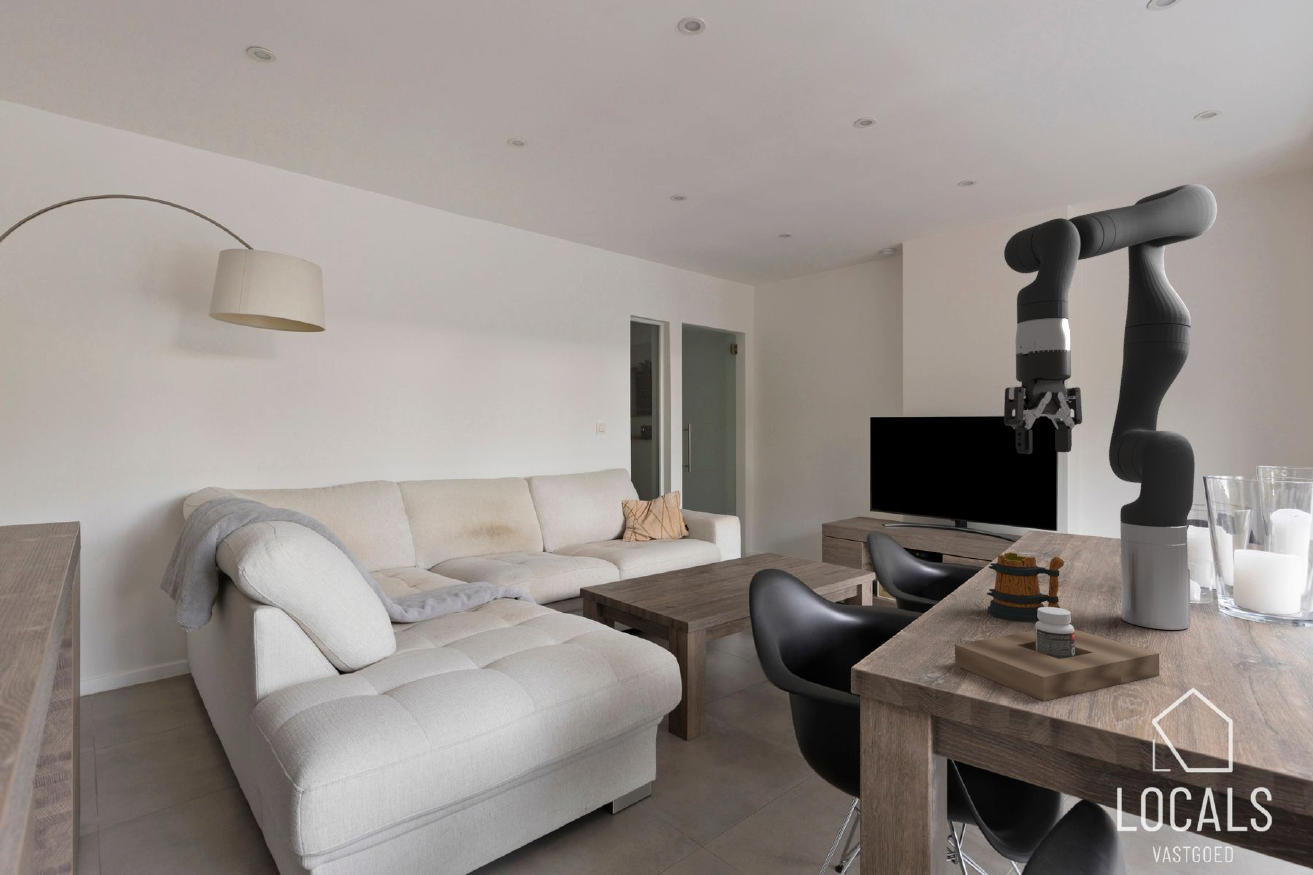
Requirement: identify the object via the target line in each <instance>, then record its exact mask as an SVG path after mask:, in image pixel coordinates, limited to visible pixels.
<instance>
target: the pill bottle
mask: <svg viewBox="0 0 1313 875" xmlns="http://www.w3.org/2000/svg"><path fill="white" fill-rule="evenodd" d="M1071 615H1072V614H1071V611H1070V610H1067V609H1065V608H1061V607H1060V608H1055V607H1048V606H1045V607H1040V608H1038V613H1037V617H1038V619H1039V620H1040V621H1038V622H1035V626H1034V631H1035V638H1036V652H1039V653H1042V654H1045V655H1048V656H1051V657H1054V658H1057V659H1063V658H1068V657H1074V656H1075V632H1074V629H1075V628H1074V626H1073V625H1072V624H1070V623H1071V622H1072V616H1071Z"/></svg>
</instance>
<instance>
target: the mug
mask: <svg viewBox="0 0 1313 875" xmlns="http://www.w3.org/2000/svg"><path fill="white" fill-rule="evenodd" d="M1064 565H1065V561H1064V560H1063V559H1062V558H1060V557H1059V556H1054V557H1052V559H1051V560H1050V563H1049V568H1046V567H1042V566H1038V565H1037V561H1036V556H1031V557H1030V556H1029V557H1028V556H1022V555H1018V553H1016V552H1011V551H1010V552H1005V553H1004V555H1003V554H999V555H997V562H996V563H995V562H994V563H992V562H991V563H990V565H988V569H991V570H994V572H995V581H994V582H995V583H994V588H989V589H988V591H989V592H986V595H987V596H990V597H992V598H993V599H991V600H990V602H989V604H990V605H988V606H987V613H988V615H990V616H992V617H995V618H999V619H1002V620H1006V621H1012V622H1021V623H1036V622H1038V621H1040V620H1039V619H1038V617H1037V613H1038V608H1040V607H1046V606H1045V604H1043V603H1044V602H1045V603H1046V602H1047V604H1048V605H1047V607H1055V608H1061V606H1060V605H1059V602H1060V601H1059V596H1058V592H1059V577H1060V570H1059V569H1061V568H1063V567H1064ZM1041 574H1045V575H1047V576H1049V581H1048V582H1049V586H1048V594H1043V593H1041V589H1040V581H1039V575H1041Z"/></svg>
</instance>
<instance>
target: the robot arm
mask: <svg viewBox="0 0 1313 875" xmlns="http://www.w3.org/2000/svg"><path fill="white" fill-rule="evenodd" d="M1217 213H1218V205H1217V200H1216V197H1215V195H1214V194H1213V192H1212V191H1211V190H1210V189H1209V188H1207V187H1206V186H1204V185H1202V184H1197V183H1190V184H1183V185H1178V186H1175V187H1173V188H1170V189H1166V190H1164V191H1161V192H1156V193H1153V194H1150V195H1148V196H1145V197H1142V198H1141V199H1139V200H1137V201H1136V202H1135V204H1133V205H1128V206H1122V207H1117V208H1111V209H1105V210H1101V211H1095V212H1090V213H1087V214H1086V213H1085V214H1081V215H1077V216H1074V217H1071V218H1068V219H1067V218H1053V219H1050V220H1048V221H1045V222H1041V223H1039V224H1036V225H1034V226H1033V225H1032V226H1031V227H1028V228H1025V229H1024V228H1023V230H1020V231H1018V232H1016V233H1015V234H1013V235H1012V236H1011V237H1010V238H1009V239H1008V241H1007V243H1006V245H1005V246H1004V250H1003V254H1004V255H1003V257H1004V261H1005V262H1006V265H1007V266H1008V267H1009V268H1010V269H1011V270H1012V271H1015V272H1017V273H1019V274H1032V273H1036V272H1037V274H1036V277H1035V279H1034V280H1033V281H1032V282H1031V283H1029V284H1027V285H1026V286H1024V287H1022V288H1021V289H1020V290H1019V291H1018V293H1017V297H1016V334H1015V380H1016V381H1017V382H1019V383H1021V386H1011V387H1006V388H1005V390H1004V407H1003V409H1004V411H1003V412H1004V414H1003V415H1004V416H1003V423H1004V425H1005V426H1010V427H1012V428H1013V430H1015V450H1016V452H1017V454H1022V455H1023V454H1024V455H1030V454H1032V453H1033V429H1031V428H1032V426H1034V425H1033V424H1034V422H1035V421H1036V419H1038V418H1040V417H1041V415H1042V416H1043V415H1045V416H1046V417H1047V418H1048V419H1050V420H1051V421H1052V423H1053V425H1054V427H1055V428H1056V429H1054V445H1055V446H1054V448H1055V452H1056V453H1071V451H1072V447H1073V446H1072V445H1073V442H1072V440H1073V439H1072V437H1073V436H1072V434H1073V433H1072V429H1074V427H1075V426H1077V425H1081V424H1083V411H1082V408H1083V407H1082V393H1081V388H1080V387H1078V386H1077V387H1066V384H1065V382H1066V380H1069V379H1071V377H1072V356H1071V354H1072V353H1071V352H1072V351H1071V342H1072V341H1071V330H1070V324H1069V292H1070V291H1069V290H1070V288H1071V285H1072V282H1073V278H1074V274H1075V270H1076V267H1077V264H1078V261H1081V260H1086V259H1091V258H1094V257H1099V256H1103V255H1106V254H1109V253H1113V252H1115V251H1119V250H1122V249H1125V248H1127V252H1128V253H1127V254H1128V292H1127V309H1126V316H1125V317H1126V319H1125V326H1124V333H1123V336H1124V337H1123V350H1122V351H1123V353H1122V354H1123V355H1122V365H1121V366H1122V367H1121V374H1120V383H1119V384H1120V385H1119V395H1118V401H1117V408H1116V412H1115V417H1114V418H1115V419H1114V422H1113V427H1112V432H1111V437H1110V442H1109V449H1108V460H1109V466H1110V469H1111V471H1112V472H1113V474H1114V475H1115V476H1116V477H1117V479H1120V480H1121V481H1124V482H1128V483H1134V484H1135V483H1136V484H1140V490H1139V491H1140V492H1139V496H1138V497H1137V498H1136V499H1134V501H1132V502H1130V503H1126V504H1123V505H1122V507H1121V508H1120V513H1119V514H1120V516H1119V517H1120V524H1119V525H1120V573H1121V574H1120V578H1121V579H1120V580H1121V584H1120V585H1121V588H1120V590H1121V597H1120V598H1121V620H1123V621H1125V622H1126V623H1129V624H1130V625H1131V624H1132V625H1135V626H1140V627H1143V628H1148V629H1156V630H1170V631H1171V630H1173V631H1174V630H1175V631H1176V630H1177V631H1178V630H1186V629H1188V628H1189V625H1190V624H1191V622H1192V621H1191V571H1190V569H1189V564H1188V562H1189V561H1188V557H1189V556H1188V555H1189V554H1188V516H1189V514H1190V512H1191V509H1192V507H1193V502H1194V489H1195V466H1196V464H1195V463H1196V462H1195V454H1194V450H1193V447H1192V445H1191V442H1190V441H1189V440H1188V438H1186V437H1185V435H1183V434H1181V433H1179V432H1175V431H1172V430H1171V431H1170V430H1157V424H1158V415H1159V411H1160V407H1161V404H1162V401H1163V399H1164V397H1165V395H1166V394H1167V392H1168V390H1169V389H1170V387H1171V386H1172V384H1173V383H1174V382H1175V380H1176V379H1177V377H1178V375H1179V373H1181V371H1182V369H1183V368H1184V366H1185V363H1186V362H1187V361H1186V360H1187V359H1188V356H1189V352H1190V342H1191V341H1190V339H1191V328H1192V317H1191V313H1190V311H1189V309H1188V307H1187V306H1186V304H1185V303H1184V301H1183V300H1182V298H1181V297H1180V295H1179V294H1178V293H1177V291H1176V290H1175V289H1174V288H1173V286H1172V284H1171V283H1170V281H1169V279H1168V277H1167V275H1166V271H1165V263H1164V262H1165V260H1164V259H1165V249H1166V246H1168V245H1172V244H1176V243H1177V244H1178V243H1182V242H1185V241H1188V240H1193V239H1195V238H1197V237H1200V236H1201V235H1203V234H1205V233H1206V232H1207V231H1208V230H1210V229H1211V228H1212V227H1213V225H1214V223H1215V221H1216V218H1217V216H1218V215H1217ZM1071 410H1073V416H1071V413H1072V411H1071ZM1013 412H1014V417H1013Z"/></svg>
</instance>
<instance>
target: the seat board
mask: <svg viewBox="0 0 1313 875" xmlns="http://www.w3.org/2000/svg"><path fill="white" fill-rule="evenodd" d="M1074 632H1075V656H1074V657H1068V658H1063V659H1057V658H1054V657H1051V656H1048V655H1045V654H1042V653H1039V652H1036V638H1035V630H1033V631H1032V630H1031V631H1025V632H1020V633H1015V634H1008V635H1002V636H997V637H991V638H985V639H977V640H973V641H966V642H960V643H956V644H954V662H955V663H954V666H957V667H959V668H962V669H964V670H966V671H970V673H971V672H972V673H974V674H976V675H979V676H981V677H983V678H986V679H989V680H991V681H993V682H996V683H999V684H1001V685H1003V686H1006V687H1008V688H1010V689H1013V690H1016V691H1018V692H1020V693H1022V694H1026V695H1027V696H1031V697H1033V698H1035V699H1038V700H1039V701H1042V702H1045V701H1049V700H1051V701H1052V700H1053V699H1054V700H1055V699H1060V698H1065V697H1068V696H1072V695H1073V696H1074V695H1078V694H1081V693H1082V694H1083V693H1086V692H1091V691H1094V690H1099V689H1100V690H1101V689H1103V688H1109V687H1114V686H1117V685H1122V684H1126V683H1131V682H1135V681H1139V680H1144V679H1149V678H1153V677H1158V676H1160V652H1156V651H1153V650H1149V649H1146V648H1141V647H1138V646H1135V645H1131V644H1128V643H1124V642H1120V641H1118V640H1113V639H1110V638H1107V637H1103V636H1099V635H1096V634H1092V633H1088V632H1085V631H1081V630H1077V629H1075V628H1074Z"/></svg>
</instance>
